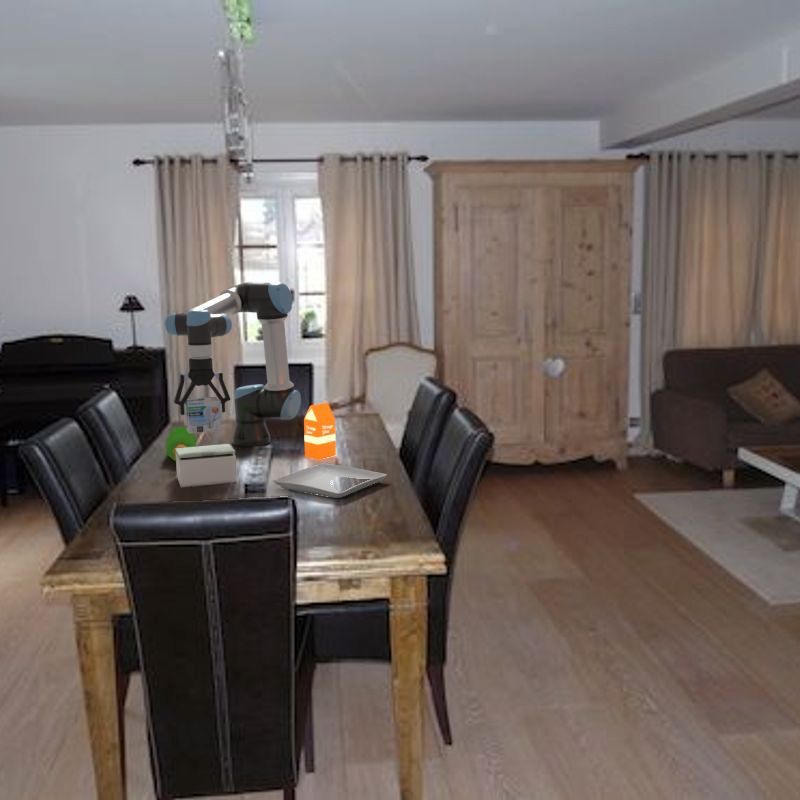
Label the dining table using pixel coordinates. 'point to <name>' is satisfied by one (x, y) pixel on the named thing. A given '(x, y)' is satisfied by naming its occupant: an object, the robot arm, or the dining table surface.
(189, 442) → the decorative tree
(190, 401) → the light bulb box
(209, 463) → the beige box
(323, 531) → the dining table surface
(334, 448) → the orange juice
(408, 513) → the dining table surface
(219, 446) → the box lid
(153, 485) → the dining table surface
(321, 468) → the square plate
